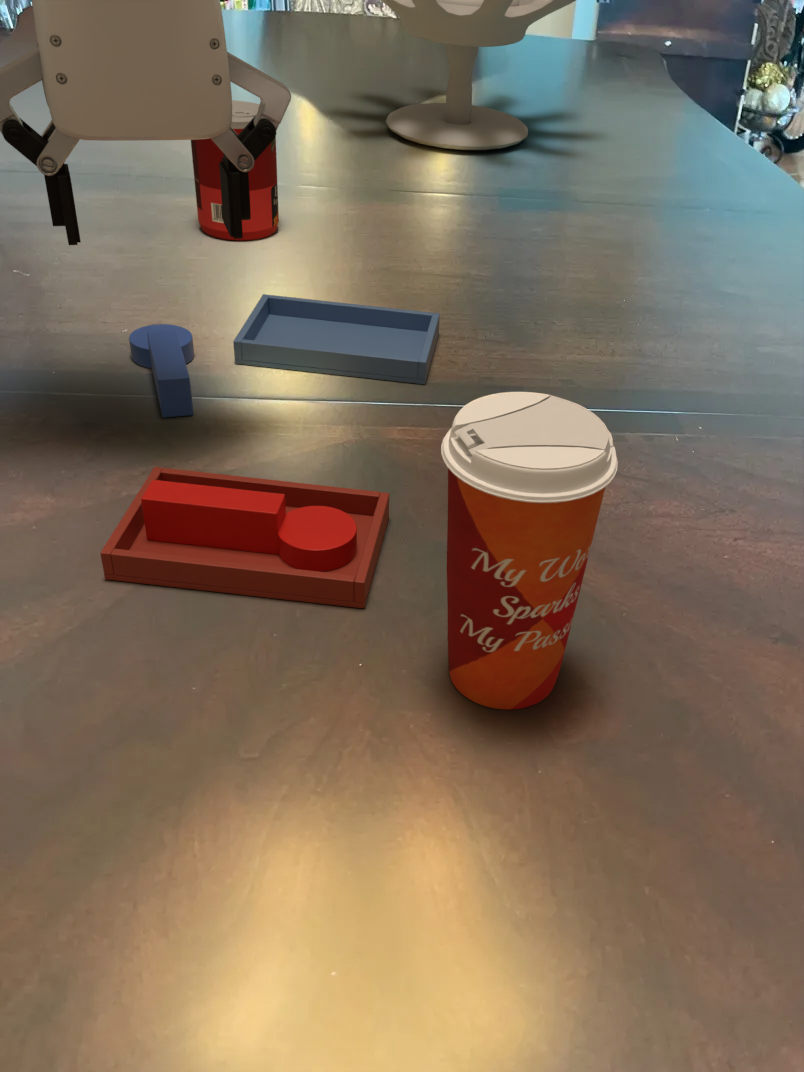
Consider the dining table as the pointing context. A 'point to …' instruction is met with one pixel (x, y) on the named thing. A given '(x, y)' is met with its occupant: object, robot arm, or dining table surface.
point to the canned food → (259, 183)
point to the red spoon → (249, 524)
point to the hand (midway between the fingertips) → (154, 234)
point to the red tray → (243, 569)
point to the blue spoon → (166, 364)
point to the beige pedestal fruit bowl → (464, 68)
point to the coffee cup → (519, 539)
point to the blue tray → (338, 339)
